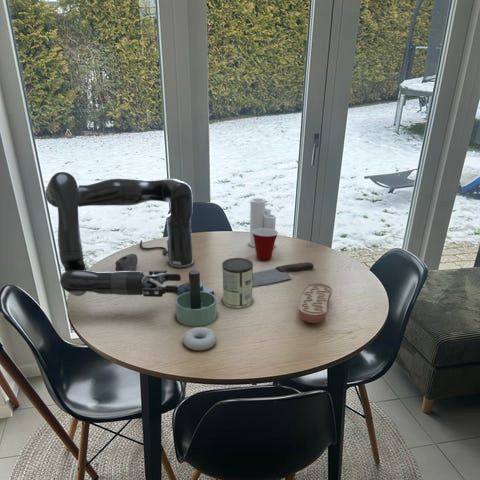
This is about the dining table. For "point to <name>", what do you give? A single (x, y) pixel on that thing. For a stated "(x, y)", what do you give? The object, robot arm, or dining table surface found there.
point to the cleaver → (278, 273)
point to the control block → (185, 288)
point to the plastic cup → (264, 242)
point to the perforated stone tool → (126, 263)
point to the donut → (199, 344)
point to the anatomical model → (314, 302)
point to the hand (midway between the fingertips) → (179, 283)
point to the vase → (260, 217)
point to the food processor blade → (194, 290)
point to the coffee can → (237, 282)
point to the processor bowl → (196, 310)
